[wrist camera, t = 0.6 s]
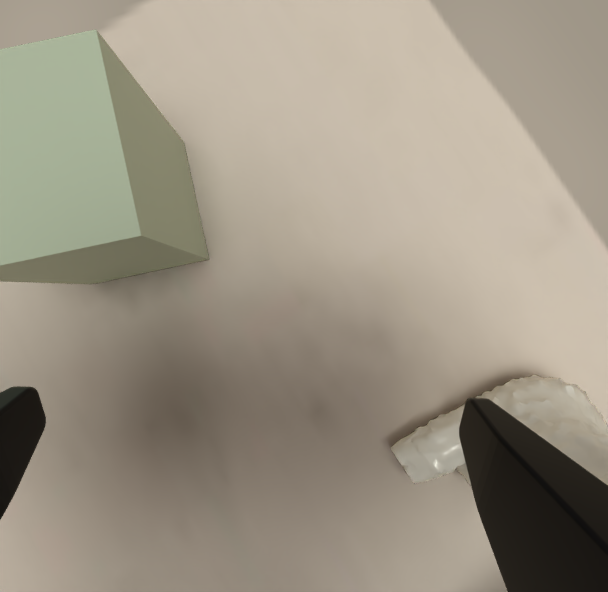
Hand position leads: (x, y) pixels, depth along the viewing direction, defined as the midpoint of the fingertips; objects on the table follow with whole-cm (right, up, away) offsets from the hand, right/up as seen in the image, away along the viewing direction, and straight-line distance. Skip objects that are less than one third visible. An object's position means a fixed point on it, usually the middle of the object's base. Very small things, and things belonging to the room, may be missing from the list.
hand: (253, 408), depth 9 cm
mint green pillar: (-8, +7, +13) cm, 17 cm away
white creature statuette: (+11, -5, +14) cm, 19 cm away
